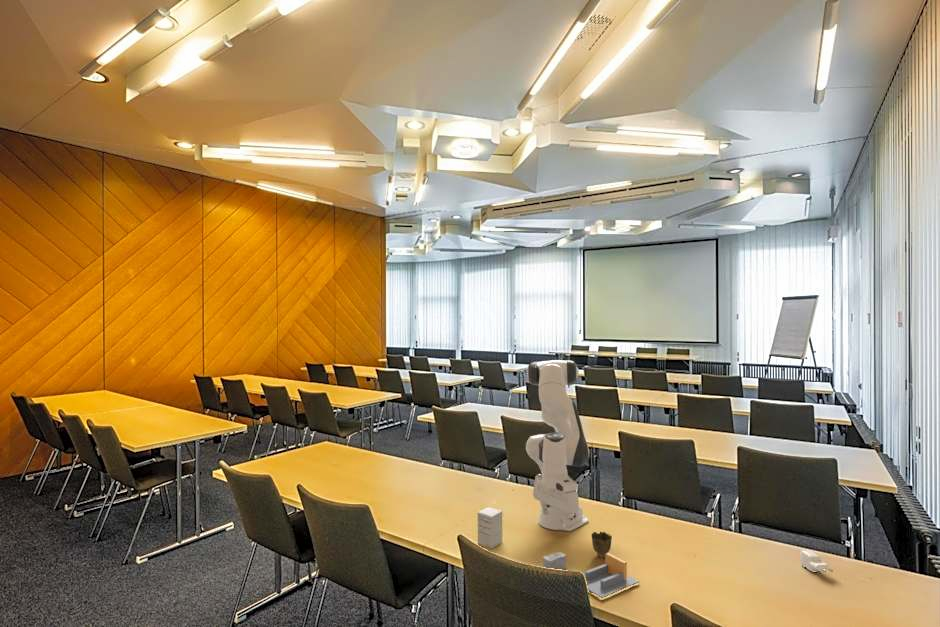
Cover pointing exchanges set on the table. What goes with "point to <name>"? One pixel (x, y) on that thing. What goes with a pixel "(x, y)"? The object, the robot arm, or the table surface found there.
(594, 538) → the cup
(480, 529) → the supplement box
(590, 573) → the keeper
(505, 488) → the table surface
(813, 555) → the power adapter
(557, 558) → the link block
